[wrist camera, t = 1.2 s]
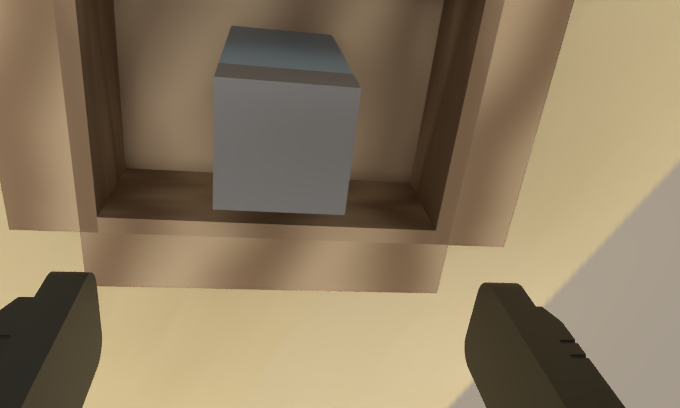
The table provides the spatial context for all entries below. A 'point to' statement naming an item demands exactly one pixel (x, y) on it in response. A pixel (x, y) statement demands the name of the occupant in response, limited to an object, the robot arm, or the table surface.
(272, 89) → the capped block
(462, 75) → the open carton
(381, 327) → the table surface
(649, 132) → the table surface
